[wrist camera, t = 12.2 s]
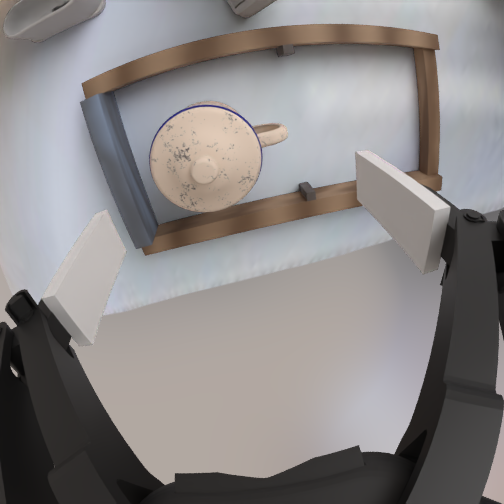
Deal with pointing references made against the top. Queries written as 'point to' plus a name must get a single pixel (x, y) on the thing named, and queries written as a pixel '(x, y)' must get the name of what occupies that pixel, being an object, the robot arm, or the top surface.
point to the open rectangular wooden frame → (265, 210)
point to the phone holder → (48, 17)
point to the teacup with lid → (209, 156)
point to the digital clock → (248, 6)
